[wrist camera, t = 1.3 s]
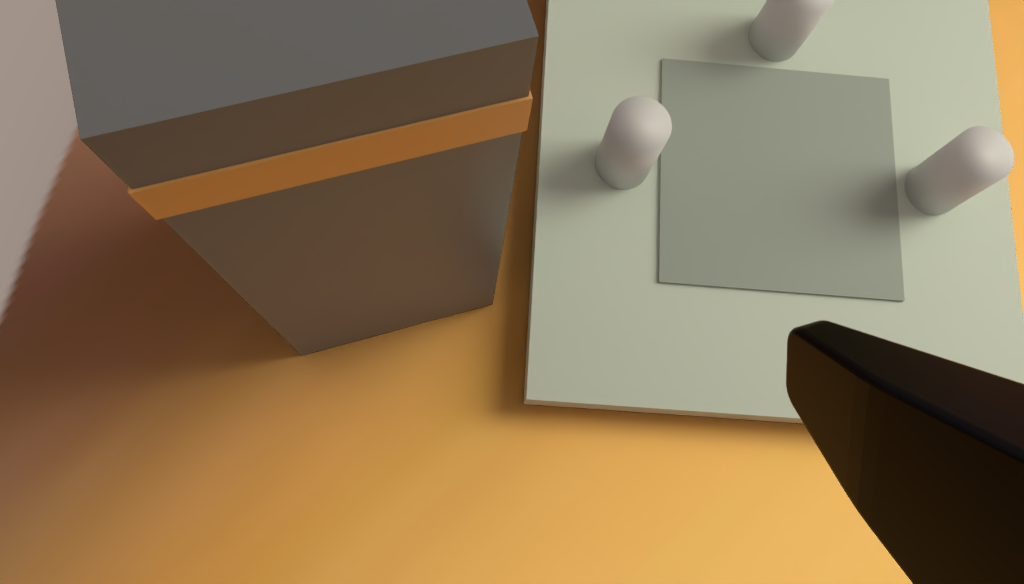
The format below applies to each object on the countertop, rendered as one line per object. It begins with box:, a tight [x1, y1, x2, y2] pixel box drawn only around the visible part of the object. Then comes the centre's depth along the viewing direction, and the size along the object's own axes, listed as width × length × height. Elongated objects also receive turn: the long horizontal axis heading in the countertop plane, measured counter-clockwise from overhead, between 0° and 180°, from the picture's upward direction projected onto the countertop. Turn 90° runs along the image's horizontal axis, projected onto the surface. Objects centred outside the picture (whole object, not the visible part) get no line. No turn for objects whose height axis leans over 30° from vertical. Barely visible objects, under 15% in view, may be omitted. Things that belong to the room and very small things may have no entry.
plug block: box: [56, 0, 539, 356], centre depth 17 cm, size 6×6×14 cm
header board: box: [523, 0, 1024, 424], centre depth 23 cm, size 14×14×4 cm
